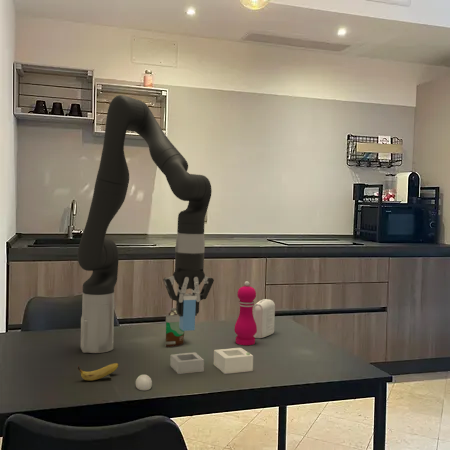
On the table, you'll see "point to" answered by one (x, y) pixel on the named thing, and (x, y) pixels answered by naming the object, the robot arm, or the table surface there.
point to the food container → (173, 329)
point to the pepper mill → (246, 316)
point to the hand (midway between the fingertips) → (187, 315)
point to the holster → (187, 363)
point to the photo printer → (264, 317)
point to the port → (233, 360)
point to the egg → (143, 382)
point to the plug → (188, 313)
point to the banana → (98, 372)
